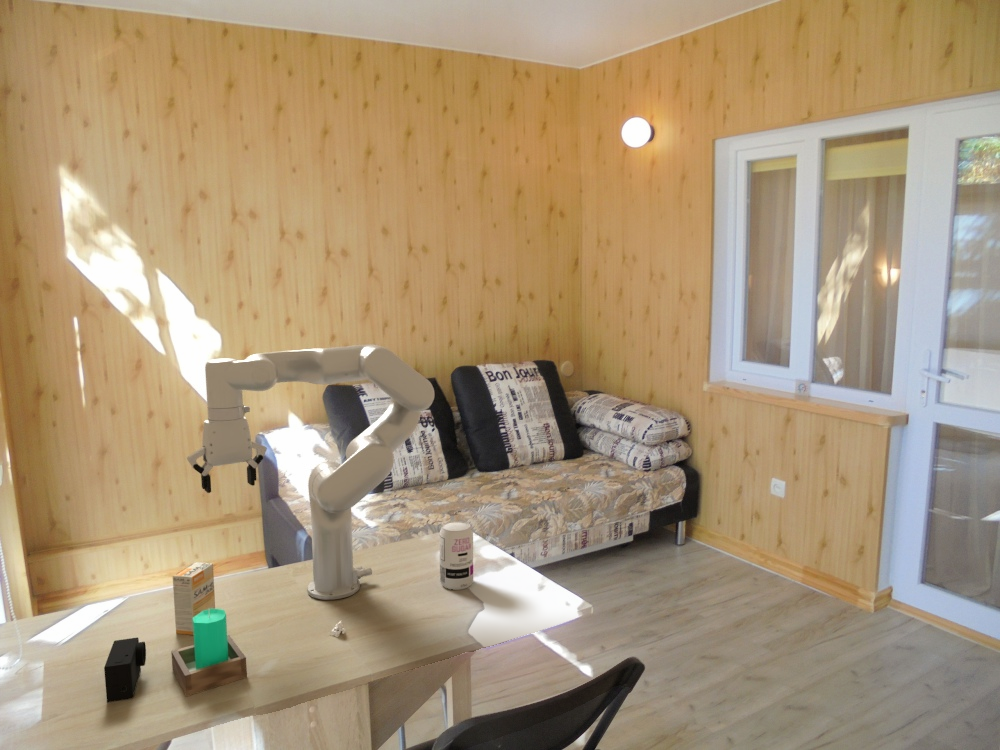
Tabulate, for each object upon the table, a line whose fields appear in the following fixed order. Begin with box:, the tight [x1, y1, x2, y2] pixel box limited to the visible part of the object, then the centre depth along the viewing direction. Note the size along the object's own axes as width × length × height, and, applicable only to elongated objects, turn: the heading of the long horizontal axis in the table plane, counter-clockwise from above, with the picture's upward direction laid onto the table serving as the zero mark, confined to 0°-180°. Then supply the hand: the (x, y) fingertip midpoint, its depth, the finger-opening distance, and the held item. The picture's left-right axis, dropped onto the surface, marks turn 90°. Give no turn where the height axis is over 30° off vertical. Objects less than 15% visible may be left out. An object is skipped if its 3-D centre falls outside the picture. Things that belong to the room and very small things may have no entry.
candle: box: [193, 608, 229, 670], centre depth 143 cm, size 6×6×12 cm
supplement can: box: [439, 520, 474, 591], centre depth 183 cm, size 8×8×15 cm
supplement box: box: [172, 561, 216, 636], centre depth 162 cm, size 8×5×13 cm, turn 168°
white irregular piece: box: [329, 620, 346, 638], centre depth 159 cm, size 3×3×3 cm
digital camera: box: [103, 637, 147, 703], centre depth 139 cm, size 10×5×7 cm, turn 18°
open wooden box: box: [171, 634, 248, 697], centre depth 143 cm, size 11×11×4 cm
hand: (229, 487), depth 169 cm, fingers open, 9 cm apart
